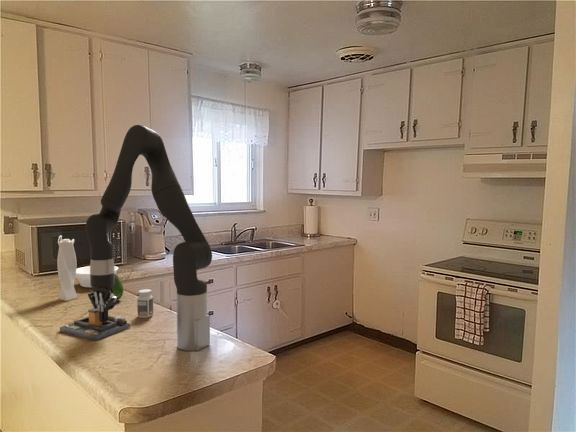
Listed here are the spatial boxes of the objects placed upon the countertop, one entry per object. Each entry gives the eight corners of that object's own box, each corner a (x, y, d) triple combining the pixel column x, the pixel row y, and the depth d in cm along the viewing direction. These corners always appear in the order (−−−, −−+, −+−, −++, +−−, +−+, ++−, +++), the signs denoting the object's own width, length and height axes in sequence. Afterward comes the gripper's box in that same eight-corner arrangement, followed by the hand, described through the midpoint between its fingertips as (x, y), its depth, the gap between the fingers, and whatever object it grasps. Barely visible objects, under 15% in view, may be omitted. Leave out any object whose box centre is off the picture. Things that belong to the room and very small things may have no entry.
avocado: (101, 300, 175) (100, 273, 174) (119, 297, 181) (118, 271, 180) (108, 304, 169) (107, 276, 169) (126, 301, 175) (126, 274, 174)
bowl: (126, 281, 212) (126, 265, 211) (104, 291, 191) (103, 274, 190) (88, 279, 214) (88, 264, 213) (62, 289, 193) (62, 273, 192)
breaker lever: (102, 324, 141) (102, 308, 141) (94, 327, 138) (94, 311, 138) (96, 323, 143) (96, 307, 142) (88, 325, 140) (88, 310, 139)
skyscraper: (54, 299, 177) (51, 236, 175) (70, 295, 183) (68, 234, 181) (65, 301, 173) (63, 237, 171) (81, 297, 180) (79, 235, 178)
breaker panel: (129, 327, 143) (129, 320, 143) (95, 340, 130) (95, 332, 130) (95, 319, 151) (95, 312, 151) (59, 331, 138) (59, 323, 138)
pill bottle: (148, 312, 160) (147, 288, 159) (156, 315, 156) (155, 290, 155) (134, 316, 155) (134, 290, 155) (142, 319, 152) (142, 293, 151)
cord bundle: (127, 323, 143) (127, 317, 143) (121, 325, 141) (121, 319, 141) (96, 316, 150) (96, 310, 150) (90, 318, 148) (90, 312, 148)
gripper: (125, 271, 137) (126, 321, 139) (98, 267, 143) (100, 315, 145) (106, 276, 131) (107, 328, 132) (79, 271, 137) (81, 321, 138)
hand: (103, 321), depth 138 cm, fingers closed
